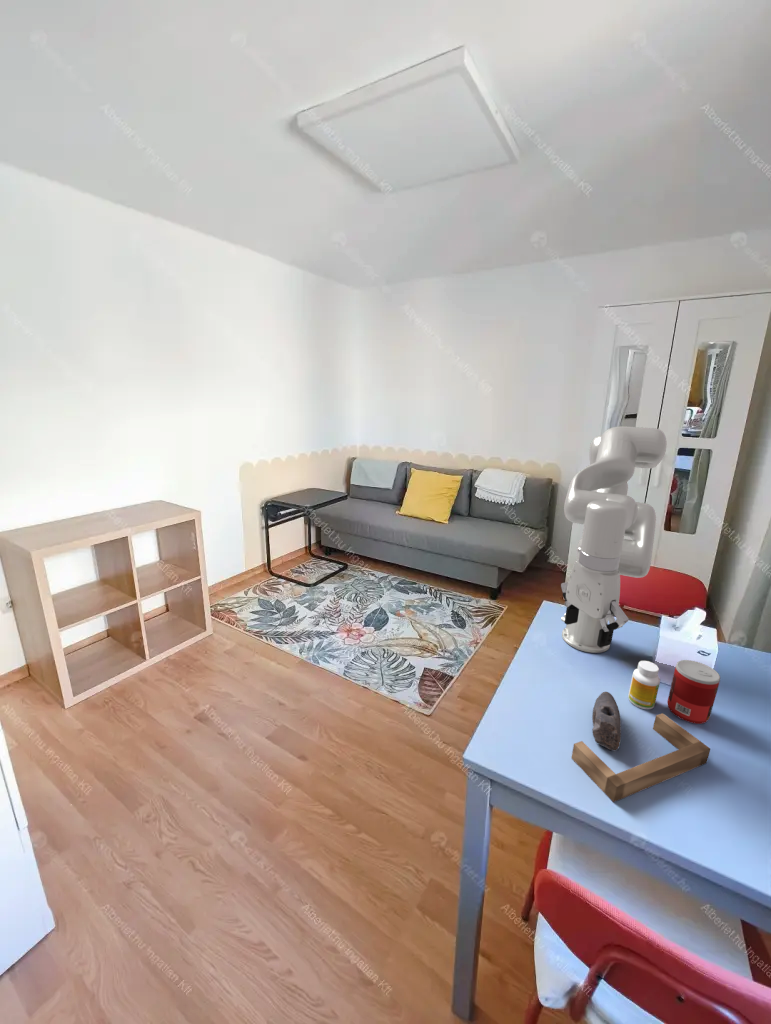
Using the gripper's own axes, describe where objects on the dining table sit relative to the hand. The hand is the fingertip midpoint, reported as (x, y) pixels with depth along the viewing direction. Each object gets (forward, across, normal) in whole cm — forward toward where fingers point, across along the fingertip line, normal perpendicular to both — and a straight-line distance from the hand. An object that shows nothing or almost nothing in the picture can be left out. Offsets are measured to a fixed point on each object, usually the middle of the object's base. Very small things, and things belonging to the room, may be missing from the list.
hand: (586, 633), depth 95 cm
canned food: (+18, +11, +22) cm, 31 cm away
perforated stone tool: (+19, +8, 0) cm, 20 cm away
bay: (+18, +17, 0) cm, 25 cm away
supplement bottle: (+18, +5, +15) cm, 24 cm away
